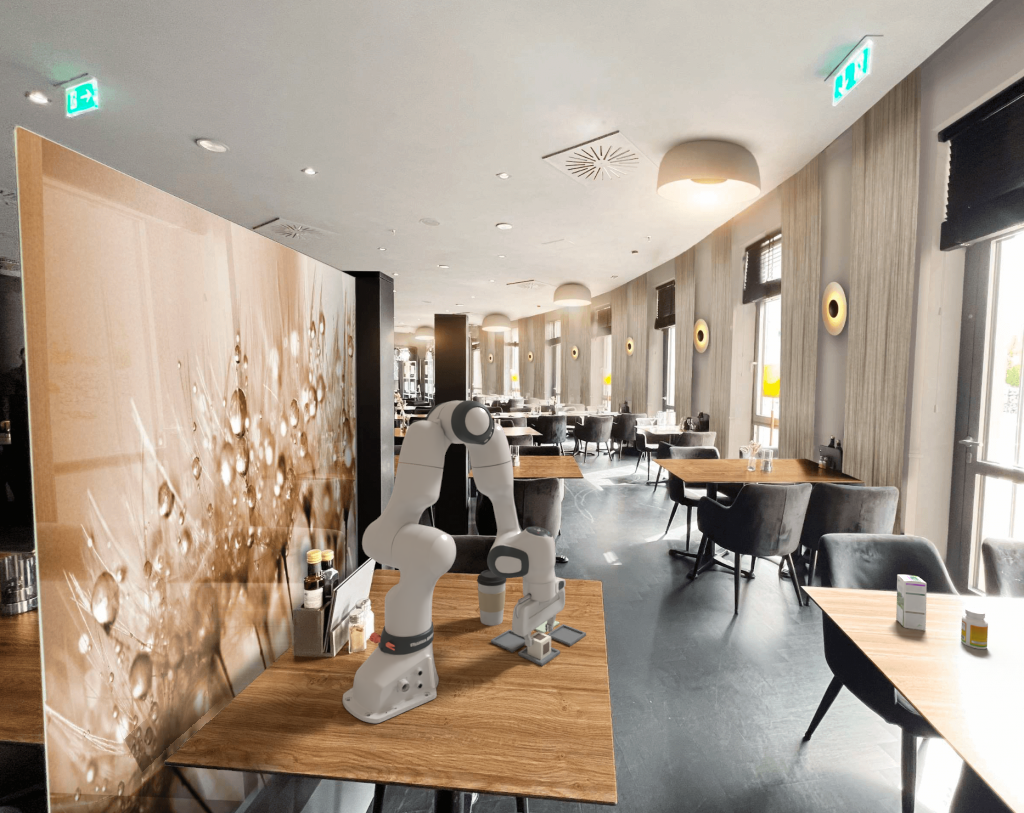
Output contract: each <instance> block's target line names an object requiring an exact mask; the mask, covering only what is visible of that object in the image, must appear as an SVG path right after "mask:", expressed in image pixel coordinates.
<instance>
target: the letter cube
mask: <svg viewBox="0 0 1024 813" xmlns="http://www.w3.org/2000/svg"><path fill="white" fill-rule="evenodd" d="M530 636H531V638H533V639H534V641H533V642H534V644H533V645H532V646H530V647H528V646H527V647H528V654H529V655H531V656H533V657H536V658H538V659H540V660H542V659H543V658H545V657H546V656H547V655H549V654H550V653H551V647H552V639H551V636H549V635H547V634H546V633H542V632H539V631H537V630H536V632H534V633H531V635H530Z"/></svg>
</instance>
